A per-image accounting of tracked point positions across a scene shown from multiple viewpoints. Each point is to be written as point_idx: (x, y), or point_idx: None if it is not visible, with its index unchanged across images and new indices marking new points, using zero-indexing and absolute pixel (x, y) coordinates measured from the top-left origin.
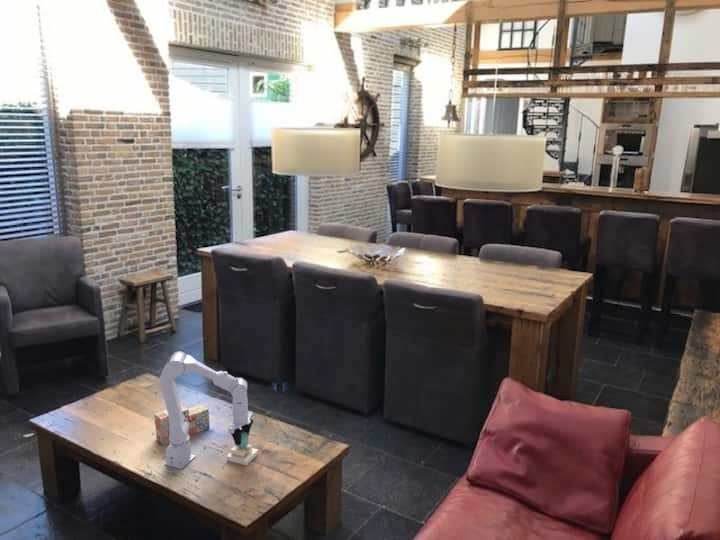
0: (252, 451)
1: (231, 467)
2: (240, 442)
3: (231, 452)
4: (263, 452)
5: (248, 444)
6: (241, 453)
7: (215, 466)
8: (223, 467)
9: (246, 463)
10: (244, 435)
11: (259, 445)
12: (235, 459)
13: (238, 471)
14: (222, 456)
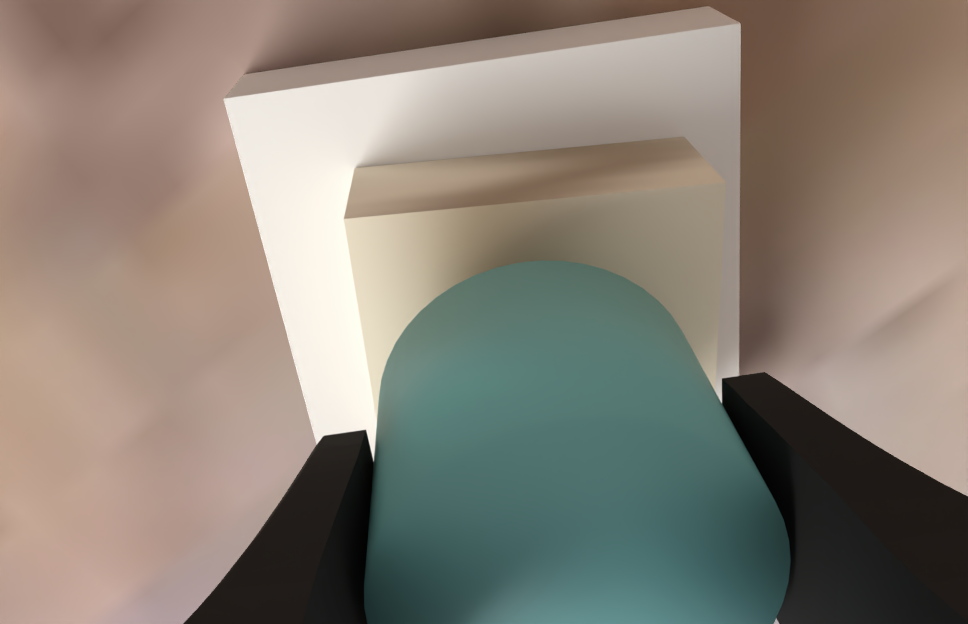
0: (365, 155)
1: (867, 204)
2: (788, 401)
3: None
4: (144, 6)
5: (360, 317)
6: (715, 224)
7: (922, 424)
8: (909, 312)
9: (719, 12)
10: (560, 512)
11: (19, 244)
12: (729, 269)
13: (945, 6)
14: None
